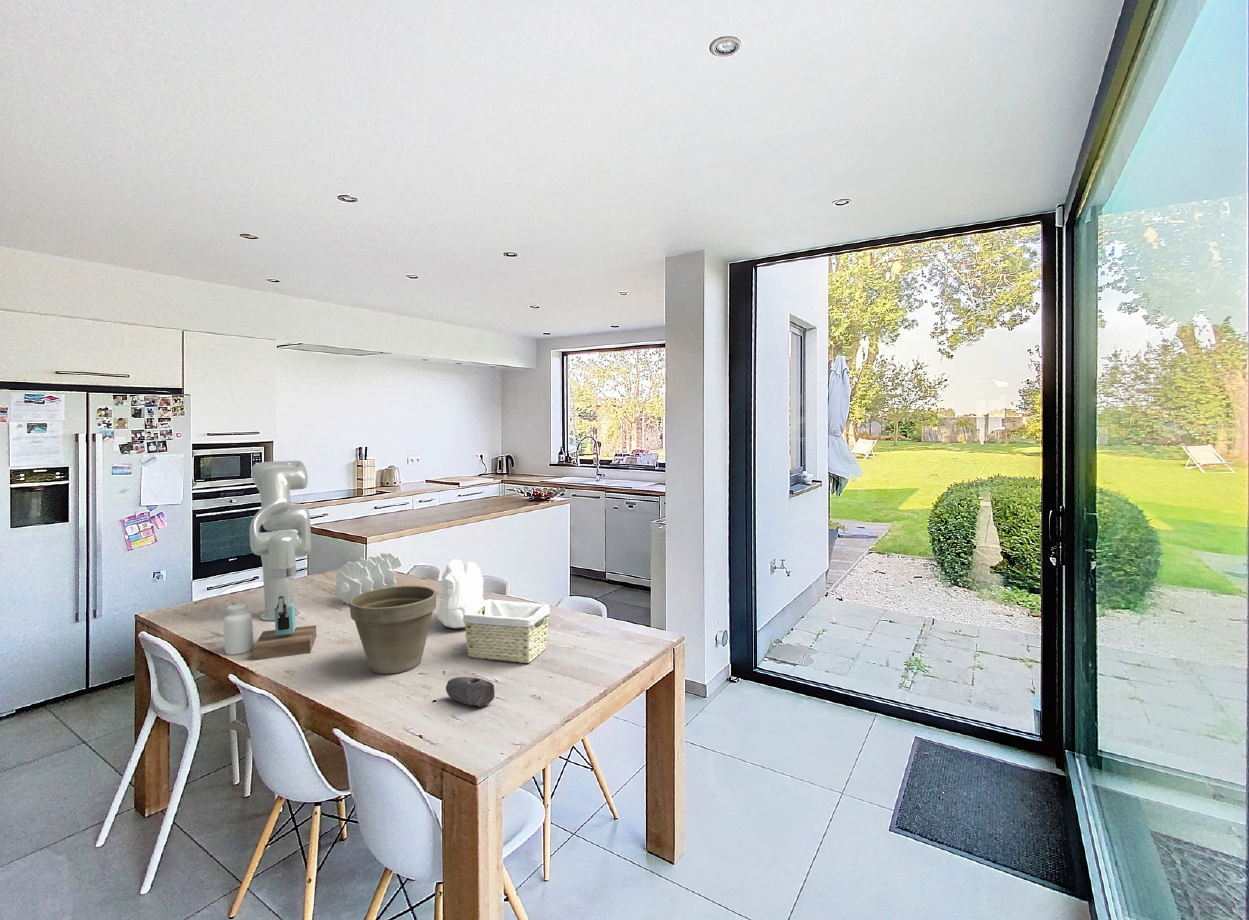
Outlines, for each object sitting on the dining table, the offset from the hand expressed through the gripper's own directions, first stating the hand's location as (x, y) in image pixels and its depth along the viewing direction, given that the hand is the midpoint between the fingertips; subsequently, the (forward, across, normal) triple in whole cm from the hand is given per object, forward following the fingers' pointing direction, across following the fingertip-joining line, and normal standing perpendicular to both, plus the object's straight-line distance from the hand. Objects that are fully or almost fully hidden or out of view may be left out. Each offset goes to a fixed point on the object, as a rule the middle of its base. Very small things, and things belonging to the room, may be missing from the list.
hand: (285, 626), depth 198 cm
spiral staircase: (+8, -50, +23) cm, 55 cm away
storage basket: (+8, +32, +68) cm, 75 cm away
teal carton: (+2, 0, 0) cm, 2 cm away
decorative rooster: (+8, -3, +59) cm, 60 cm away
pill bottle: (+8, -3, -14) cm, 16 cm away
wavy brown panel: (+7, 0, 0) cm, 7 cm away
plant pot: (+8, +28, +34) cm, 45 cm away
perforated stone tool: (+8, +62, +52) cm, 81 cm away
